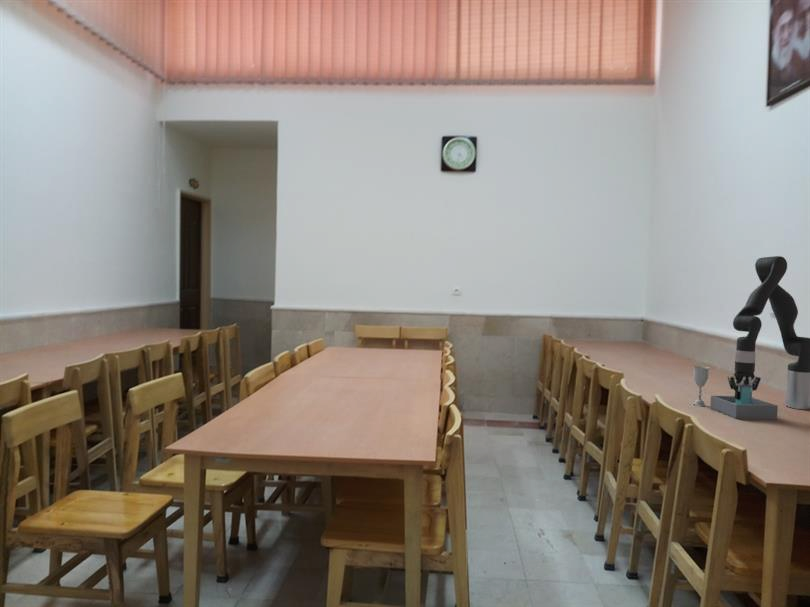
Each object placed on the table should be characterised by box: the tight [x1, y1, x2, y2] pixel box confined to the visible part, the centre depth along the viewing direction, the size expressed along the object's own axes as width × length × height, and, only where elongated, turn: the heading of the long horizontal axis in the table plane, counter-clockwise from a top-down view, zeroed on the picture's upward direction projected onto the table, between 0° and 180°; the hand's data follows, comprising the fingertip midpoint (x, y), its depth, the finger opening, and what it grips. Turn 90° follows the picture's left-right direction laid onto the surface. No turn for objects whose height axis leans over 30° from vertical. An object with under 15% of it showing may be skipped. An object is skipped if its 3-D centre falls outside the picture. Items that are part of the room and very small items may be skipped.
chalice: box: [692, 365, 710, 407], centre depth 254 cm, size 7×7×18 cm
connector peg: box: [735, 383, 752, 405], centre depth 238 cm, size 4×4×10 cm
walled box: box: [709, 395, 779, 420], centre depth 238 cm, size 18×18×6 cm
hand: (742, 399), depth 238 cm, fingers closed on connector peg, 4 cm apart
